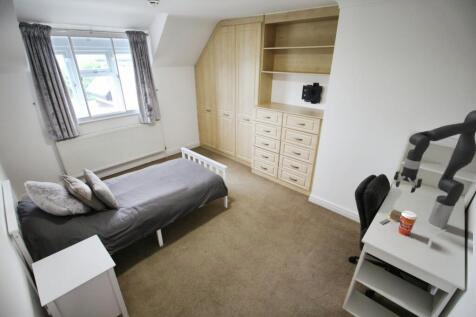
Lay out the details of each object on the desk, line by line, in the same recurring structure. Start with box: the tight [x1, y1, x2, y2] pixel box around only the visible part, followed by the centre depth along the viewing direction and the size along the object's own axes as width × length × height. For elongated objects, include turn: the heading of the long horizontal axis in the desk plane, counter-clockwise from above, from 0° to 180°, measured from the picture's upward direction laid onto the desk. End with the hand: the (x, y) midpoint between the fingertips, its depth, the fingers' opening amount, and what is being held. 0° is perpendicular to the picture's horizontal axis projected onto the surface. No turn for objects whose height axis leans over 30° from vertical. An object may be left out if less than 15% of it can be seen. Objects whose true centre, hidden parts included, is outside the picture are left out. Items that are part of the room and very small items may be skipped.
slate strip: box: [379, 218, 391, 225], centre depth 149 cm, size 8×2×1 cm, turn 118°
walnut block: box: [389, 208, 403, 221], centre depth 151 cm, size 5×5×5 cm
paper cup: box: [398, 210, 419, 237], centre depth 137 cm, size 8×8×14 cm
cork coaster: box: [387, 214, 401, 223], centre depth 152 cm, size 8×8×1 cm
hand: (404, 189), depth 142 cm, fingers open, 8 cm apart
